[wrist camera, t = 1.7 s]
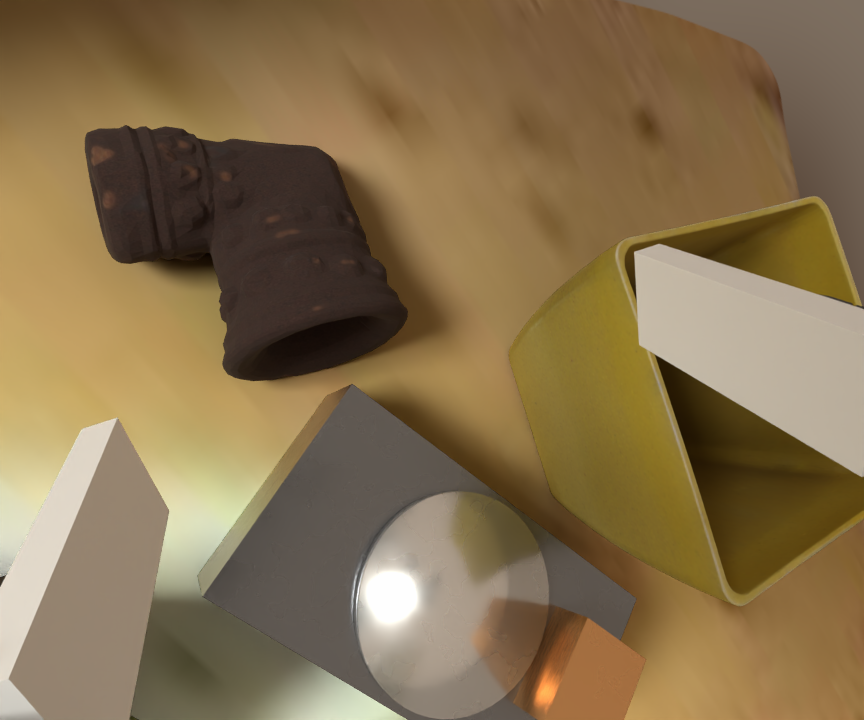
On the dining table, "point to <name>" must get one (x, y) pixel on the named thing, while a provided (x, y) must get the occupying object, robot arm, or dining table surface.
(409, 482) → the block
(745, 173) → the dining table surface
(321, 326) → the pipe
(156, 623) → the dining table surface
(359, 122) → the dining table surface
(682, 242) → the flower pot
